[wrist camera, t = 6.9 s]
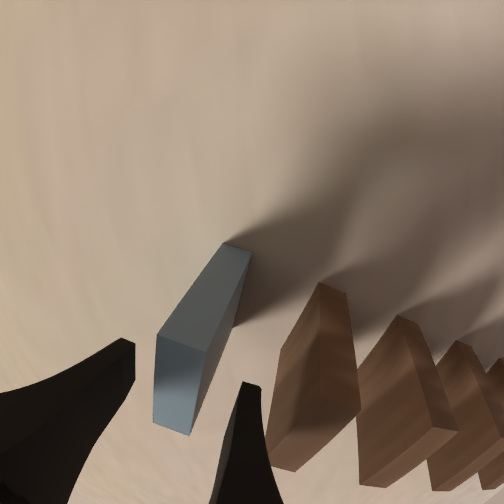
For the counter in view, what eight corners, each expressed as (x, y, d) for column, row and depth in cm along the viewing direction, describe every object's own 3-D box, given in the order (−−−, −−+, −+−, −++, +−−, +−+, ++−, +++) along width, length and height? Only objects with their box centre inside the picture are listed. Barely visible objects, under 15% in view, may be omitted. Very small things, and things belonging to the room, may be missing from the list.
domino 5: (509, 363, 16) (551, 441, 9) (468, 408, 18) (494, 488, 11) (499, 358, 16) (541, 441, 9) (456, 405, 18) (482, 489, 11)
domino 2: (345, 293, 16) (361, 410, 9) (304, 358, 18) (294, 472, 11) (318, 282, 16) (319, 397, 9) (280, 349, 18) (259, 463, 11)
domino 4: (471, 346, 16) (516, 439, 9) (427, 398, 18) (450, 491, 11) (456, 340, 16) (501, 437, 9) (411, 393, 18) (432, 490, 11)
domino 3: (417, 324, 16) (458, 431, 9) (372, 381, 18) (385, 487, 11) (396, 315, 16) (432, 426, 9) (352, 375, 18) (359, 484, 11)
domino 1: (252, 252, 16) (206, 352, 9) (232, 328, 18) (189, 436, 11) (222, 243, 17) (156, 334, 9) (206, 319, 19) (152, 422, 11)
